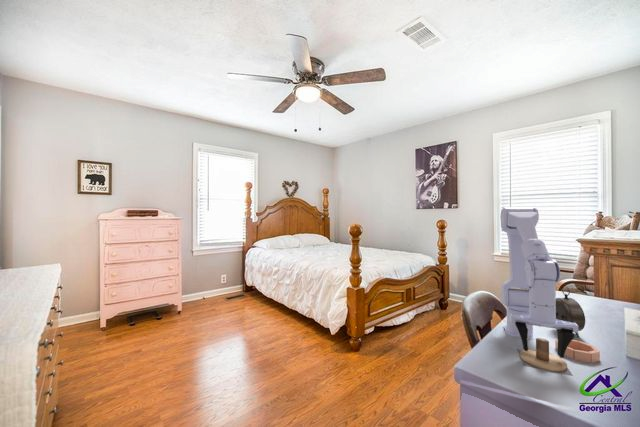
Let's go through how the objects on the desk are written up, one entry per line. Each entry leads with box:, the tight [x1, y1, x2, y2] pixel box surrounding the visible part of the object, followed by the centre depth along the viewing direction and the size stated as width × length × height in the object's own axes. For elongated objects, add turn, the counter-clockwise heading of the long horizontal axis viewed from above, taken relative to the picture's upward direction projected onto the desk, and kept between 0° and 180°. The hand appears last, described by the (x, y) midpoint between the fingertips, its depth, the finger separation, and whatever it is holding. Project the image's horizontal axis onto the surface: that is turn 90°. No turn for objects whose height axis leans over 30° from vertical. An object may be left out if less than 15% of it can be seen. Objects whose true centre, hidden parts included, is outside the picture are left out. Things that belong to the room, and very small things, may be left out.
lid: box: [519, 337, 568, 373], centre depth 74 cm, size 10×10×6 cm
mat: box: [516, 348, 574, 377], centre depth 74 cm, size 10×10×1 cm
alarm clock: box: [556, 285, 586, 338], centre depth 95 cm, size 11×5×16 cm, turn 168°
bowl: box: [554, 338, 601, 363], centre depth 79 cm, size 9×9×3 cm
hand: (542, 352), depth 74 cm, fingers open, 7 cm apart
